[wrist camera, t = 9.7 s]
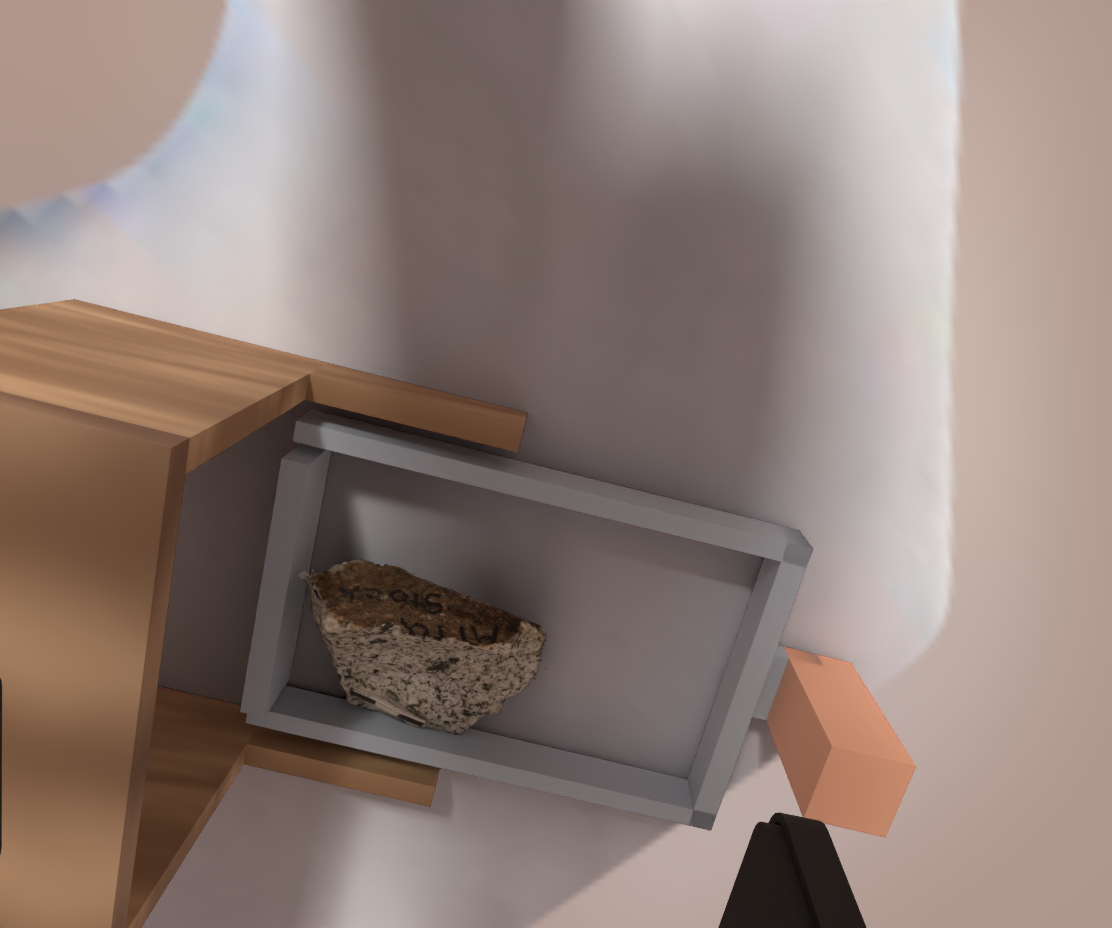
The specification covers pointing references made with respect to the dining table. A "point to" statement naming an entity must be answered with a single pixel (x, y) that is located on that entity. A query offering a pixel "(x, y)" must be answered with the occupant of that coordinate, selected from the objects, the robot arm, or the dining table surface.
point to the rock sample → (420, 646)
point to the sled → (745, 691)
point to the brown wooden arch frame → (140, 598)
